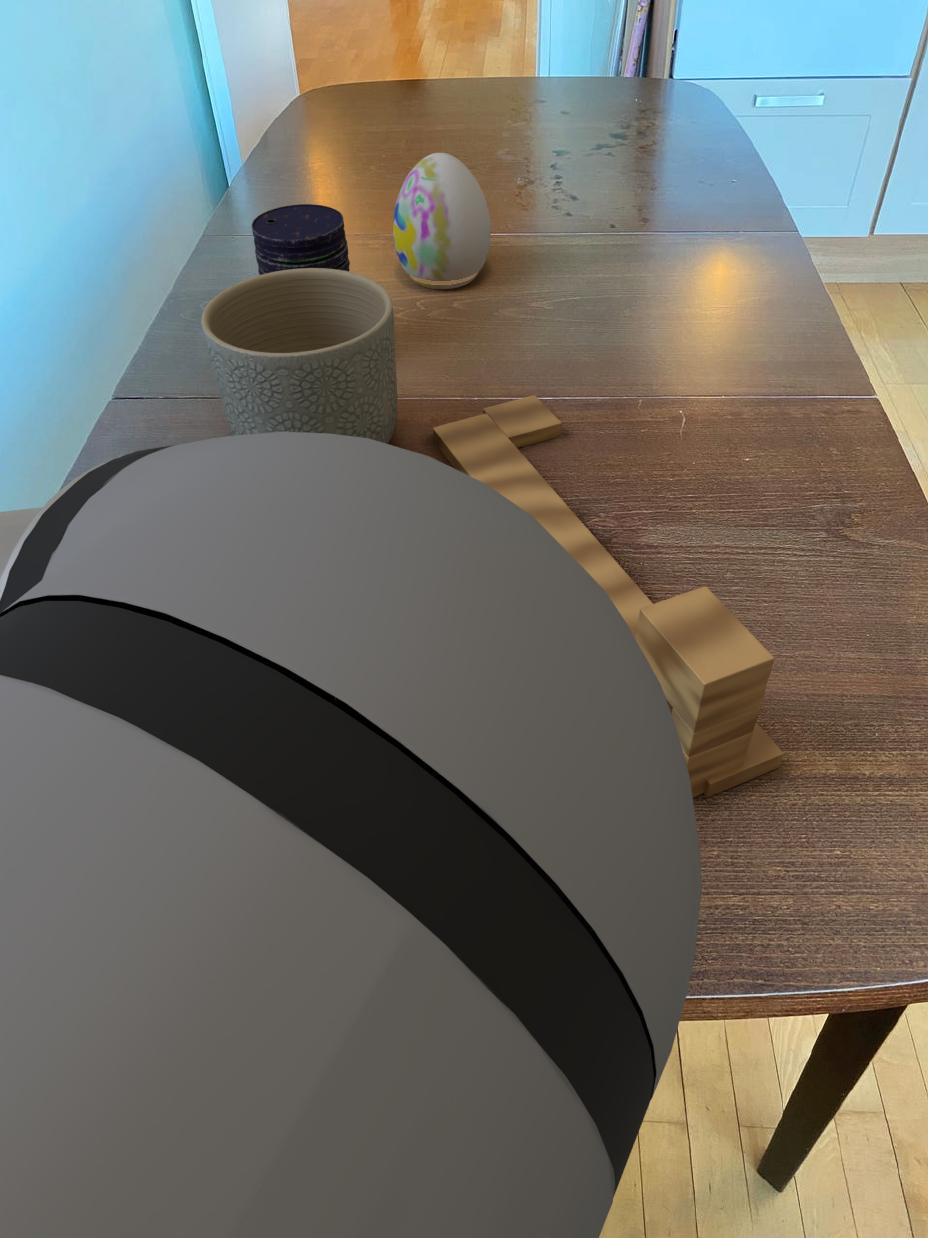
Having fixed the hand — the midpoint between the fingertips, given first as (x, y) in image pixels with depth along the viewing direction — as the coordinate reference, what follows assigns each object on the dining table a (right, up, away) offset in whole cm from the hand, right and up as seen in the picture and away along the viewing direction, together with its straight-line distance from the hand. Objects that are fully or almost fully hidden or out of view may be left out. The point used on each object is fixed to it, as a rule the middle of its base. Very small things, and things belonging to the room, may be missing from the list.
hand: (330, 723), depth 49 cm
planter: (-7, +22, +45) cm, 51 cm away
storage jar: (-10, +36, +60) cm, 71 cm away
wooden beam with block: (+18, +10, +32) cm, 38 cm away
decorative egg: (+4, +50, +74) cm, 89 cm away
